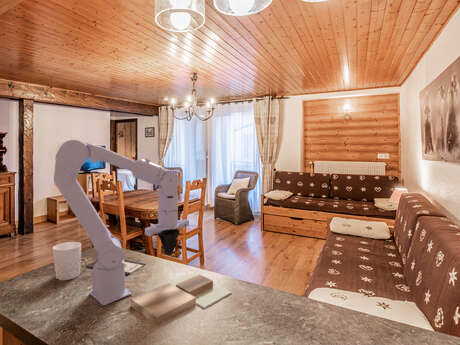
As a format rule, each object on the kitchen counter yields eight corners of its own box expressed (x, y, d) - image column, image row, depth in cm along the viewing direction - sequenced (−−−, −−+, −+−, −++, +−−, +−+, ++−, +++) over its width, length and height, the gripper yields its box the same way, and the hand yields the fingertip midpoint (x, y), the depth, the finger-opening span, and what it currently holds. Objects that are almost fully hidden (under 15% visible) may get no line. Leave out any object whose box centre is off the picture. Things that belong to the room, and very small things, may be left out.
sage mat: (163, 285, 83) (163, 284, 83) (190, 274, 91) (190, 273, 91) (204, 308, 71) (204, 307, 71) (231, 293, 79) (231, 292, 79)
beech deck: (130, 305, 72) (130, 298, 72) (169, 289, 81) (168, 282, 81) (156, 325, 64) (156, 317, 64) (195, 304, 73) (195, 297, 73)
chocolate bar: (105, 256, 104) (145, 263, 98) (105, 259, 104) (145, 266, 98) (85, 265, 96) (127, 274, 90) (85, 268, 96) (127, 277, 90)
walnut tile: (175, 291, 79) (175, 284, 79) (199, 280, 86) (199, 274, 86) (189, 298, 75) (189, 291, 75) (212, 287, 82) (212, 280, 82)
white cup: (75, 268, 95) (74, 240, 94) (86, 274, 90) (85, 244, 89) (49, 276, 88) (48, 246, 88) (60, 284, 84) (59, 251, 83)
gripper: (154, 215, 75) (155, 264, 76) (195, 208, 86) (195, 250, 87) (140, 211, 80) (141, 257, 81) (181, 204, 90) (181, 245, 91)
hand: (168, 253), depth 84 cm, fingers closed
